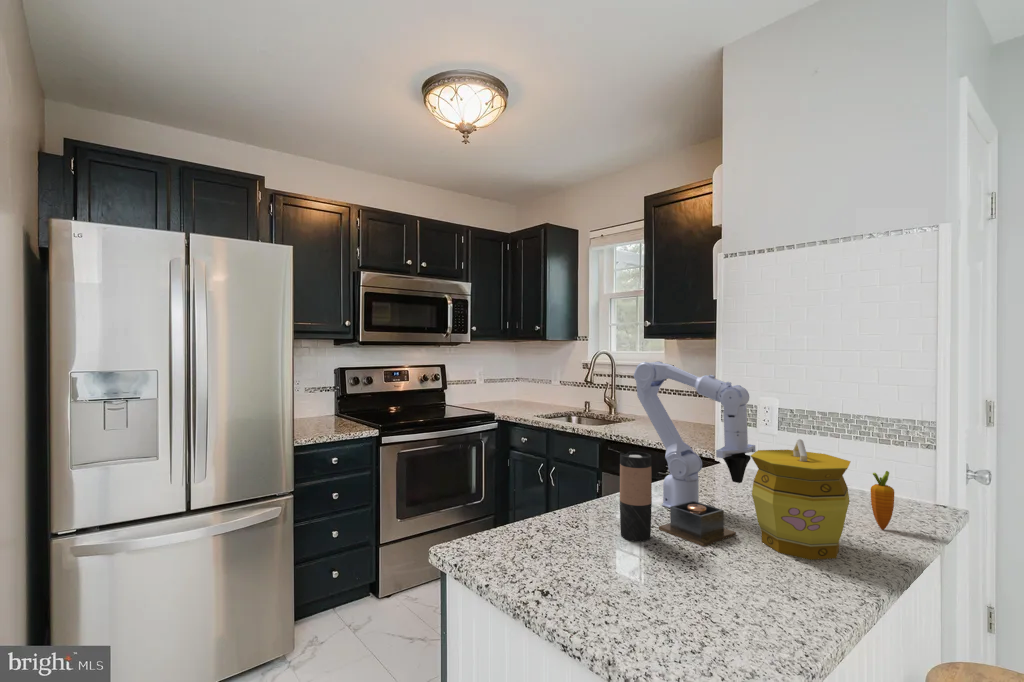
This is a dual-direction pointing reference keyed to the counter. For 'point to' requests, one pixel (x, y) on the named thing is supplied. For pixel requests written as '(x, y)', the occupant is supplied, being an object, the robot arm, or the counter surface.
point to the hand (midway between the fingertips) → (737, 482)
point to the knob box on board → (697, 524)
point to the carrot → (882, 501)
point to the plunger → (696, 508)
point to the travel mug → (635, 496)
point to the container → (800, 501)
